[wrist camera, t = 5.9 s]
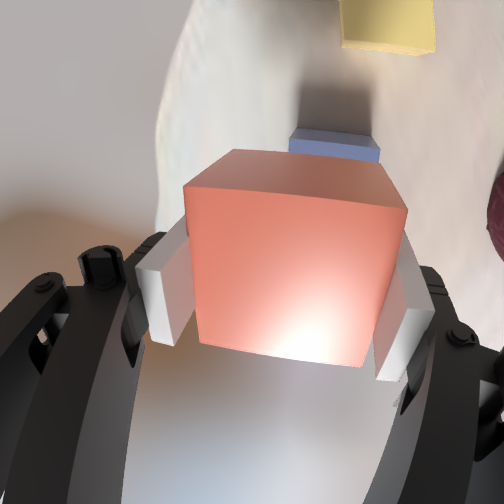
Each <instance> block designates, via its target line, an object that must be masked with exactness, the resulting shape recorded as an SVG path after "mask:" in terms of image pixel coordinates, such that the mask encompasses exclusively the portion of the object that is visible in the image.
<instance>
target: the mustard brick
mask: <svg viewBox="0 0 504 504" xmlns="http://www.w3.org/2000/svg"><path fill="white" fill-rule="evenodd" d="M339 11H340V27H341V47H343V48H357V49H369V50H378V51H387V52H394V53H401V54H408V55H414V56H419V55H423V54H427V53H432V52H436V42H435V24H434V12H433V2H432V0H339Z"/></svg>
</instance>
